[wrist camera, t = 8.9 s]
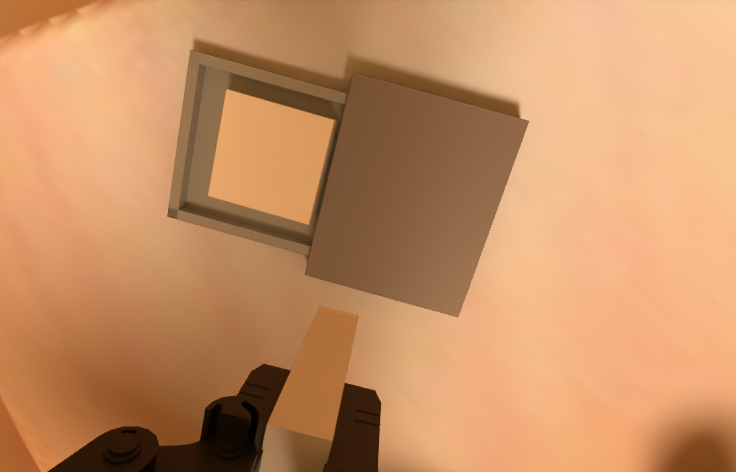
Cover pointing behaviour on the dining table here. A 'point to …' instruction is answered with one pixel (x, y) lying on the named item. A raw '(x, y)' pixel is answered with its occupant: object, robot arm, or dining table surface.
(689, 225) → the dining table surface
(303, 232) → the tray
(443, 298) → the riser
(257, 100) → the coaster
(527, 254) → the dining table surface
